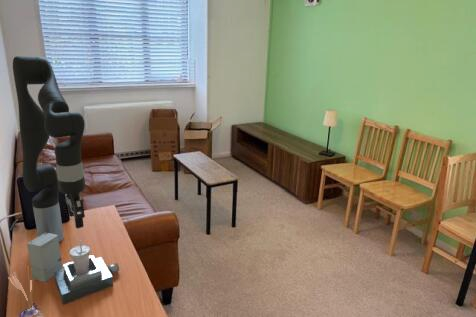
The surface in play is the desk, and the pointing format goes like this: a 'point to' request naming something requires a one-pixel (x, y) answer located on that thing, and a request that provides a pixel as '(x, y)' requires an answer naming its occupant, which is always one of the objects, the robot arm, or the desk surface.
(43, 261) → the skincare box
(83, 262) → the smoothie
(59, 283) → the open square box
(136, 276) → the desk surface
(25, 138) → the robot arm
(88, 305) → the desk surface
